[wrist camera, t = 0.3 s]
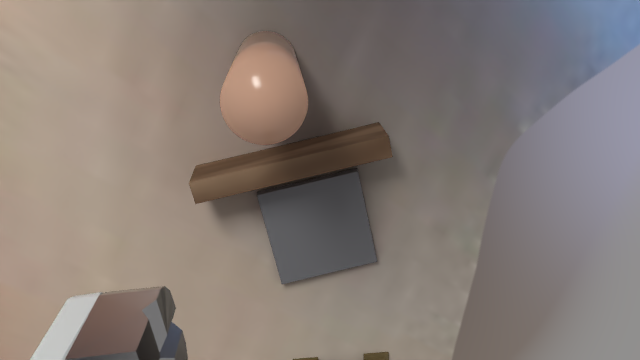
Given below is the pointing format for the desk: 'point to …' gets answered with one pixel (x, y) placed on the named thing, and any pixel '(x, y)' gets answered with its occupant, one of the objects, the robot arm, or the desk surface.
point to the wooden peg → (264, 90)
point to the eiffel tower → (369, 358)
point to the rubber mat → (318, 226)
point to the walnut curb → (290, 162)
